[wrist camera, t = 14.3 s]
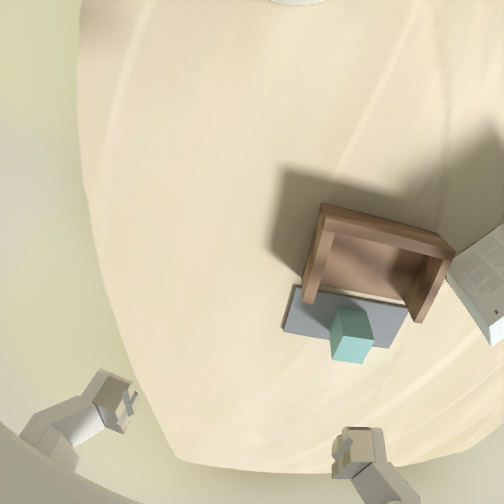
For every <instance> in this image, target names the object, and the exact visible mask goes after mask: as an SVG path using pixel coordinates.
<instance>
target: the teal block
mask: <svg viewBox="0 0 504 504" xmlns="http://www.w3.org/2000/svg"><path fill="white" fill-rule="evenodd" d="M329 335H330V345H331V356H332V360H337V361H344V362H352V363H360V364H362V363H363V361H364V359H365V357H366V355H367V354H368V352H369V350H370V348H371V346H372V344H373V343H374V341H375V340H374V336H373V332H372V329H371V325H370V322H369V318H368V315H367V312H363V311H358V310H352V309H347V308H341V307H338V309H337V312H336V314H335V317H334V319H333V322H332V324H331V327H330V329H329Z"/></svg>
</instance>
